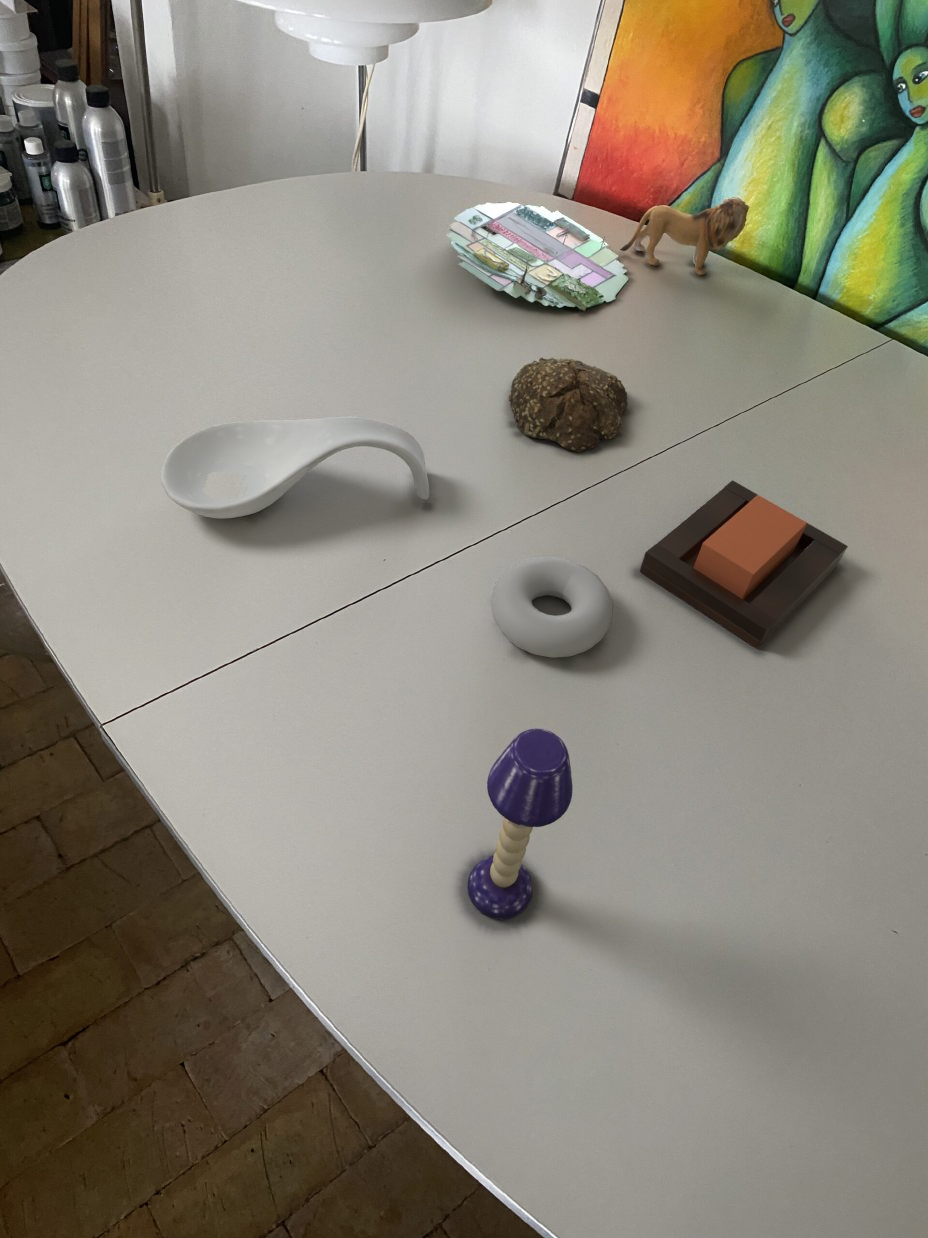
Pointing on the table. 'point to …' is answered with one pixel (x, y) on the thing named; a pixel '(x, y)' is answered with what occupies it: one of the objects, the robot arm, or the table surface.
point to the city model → (536, 255)
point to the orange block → (750, 546)
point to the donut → (547, 630)
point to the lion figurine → (692, 229)
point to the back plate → (743, 618)
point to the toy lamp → (520, 817)
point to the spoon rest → (274, 458)
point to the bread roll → (567, 403)
